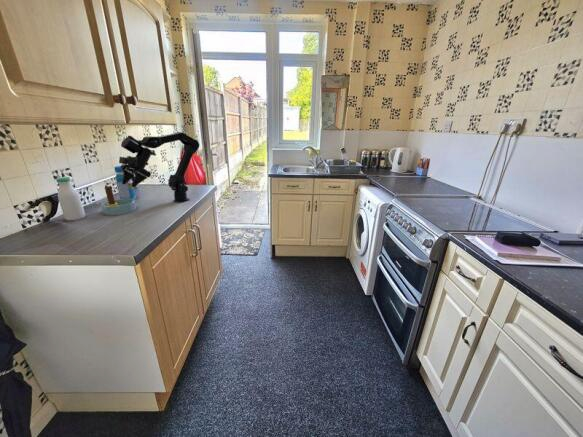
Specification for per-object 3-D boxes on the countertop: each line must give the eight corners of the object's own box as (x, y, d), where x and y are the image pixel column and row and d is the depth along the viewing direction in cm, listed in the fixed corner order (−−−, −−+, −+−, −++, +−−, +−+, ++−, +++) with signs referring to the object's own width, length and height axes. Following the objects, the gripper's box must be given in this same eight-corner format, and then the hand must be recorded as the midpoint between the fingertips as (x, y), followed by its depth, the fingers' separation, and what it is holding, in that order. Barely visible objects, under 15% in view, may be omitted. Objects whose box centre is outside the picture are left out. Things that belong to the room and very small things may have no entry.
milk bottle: (89, 217, 122) (77, 177, 115) (70, 222, 115) (57, 180, 108) (80, 214, 125) (68, 175, 118) (62, 219, 118) (47, 178, 111)
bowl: (124, 205, 139) (122, 197, 138) (142, 209, 134) (140, 200, 132) (97, 213, 127) (94, 204, 125) (115, 217, 121) (113, 208, 120)
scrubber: (115, 209, 132) (109, 185, 127) (120, 210, 130) (115, 186, 126) (107, 211, 128) (100, 187, 123) (112, 212, 126) (106, 188, 122)
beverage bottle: (121, 201, 146) (113, 168, 139) (119, 198, 152) (111, 166, 145) (137, 199, 151) (130, 166, 144) (134, 196, 157) (128, 165, 150)
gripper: (117, 148, 124) (102, 175, 121) (136, 150, 115) (120, 180, 112) (138, 160, 134) (124, 185, 131) (157, 163, 124) (143, 190, 121)
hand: (127, 185), depth 123 cm, fingers open, 9 cm apart
